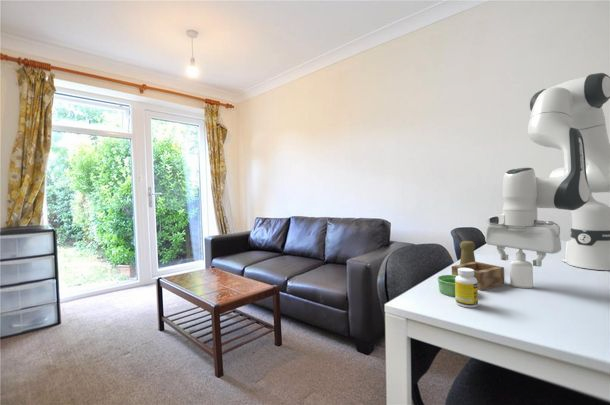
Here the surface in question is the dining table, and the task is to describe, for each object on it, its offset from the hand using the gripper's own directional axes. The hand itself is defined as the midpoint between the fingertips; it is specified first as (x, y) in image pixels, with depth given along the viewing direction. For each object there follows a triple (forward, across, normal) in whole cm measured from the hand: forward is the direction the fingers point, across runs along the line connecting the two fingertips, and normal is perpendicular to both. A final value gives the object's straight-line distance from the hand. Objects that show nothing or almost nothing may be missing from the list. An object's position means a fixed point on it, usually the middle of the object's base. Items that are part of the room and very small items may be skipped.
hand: (520, 262), depth 90 cm
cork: (+8, +22, -6) cm, 24 cm away
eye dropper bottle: (+8, 0, -1) cm, 8 cm away
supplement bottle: (+8, -1, +26) cm, 28 cm away
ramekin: (+8, +7, +21) cm, 24 cm away
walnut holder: (+8, +9, +7) cm, 14 cm away
